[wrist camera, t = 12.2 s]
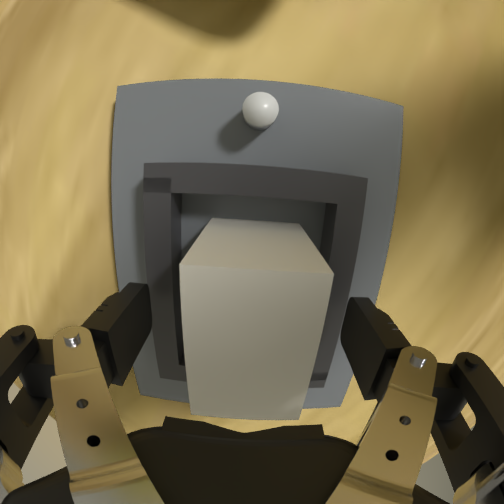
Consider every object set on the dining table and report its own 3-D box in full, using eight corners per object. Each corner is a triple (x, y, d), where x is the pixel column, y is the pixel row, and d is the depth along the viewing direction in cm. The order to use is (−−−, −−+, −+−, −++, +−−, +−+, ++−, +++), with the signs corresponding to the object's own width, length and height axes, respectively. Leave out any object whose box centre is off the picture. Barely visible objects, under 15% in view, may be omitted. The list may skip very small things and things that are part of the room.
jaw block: (299, 223, 13) (334, 273, 7) (284, 333, 15) (298, 419, 9) (212, 217, 13) (179, 264, 7) (210, 328, 15) (191, 414, 9)
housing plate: (394, 108, 12) (422, 100, 9) (337, 396, 18) (345, 425, 15) (125, 90, 12) (100, 78, 9) (144, 385, 18) (132, 412, 15)
